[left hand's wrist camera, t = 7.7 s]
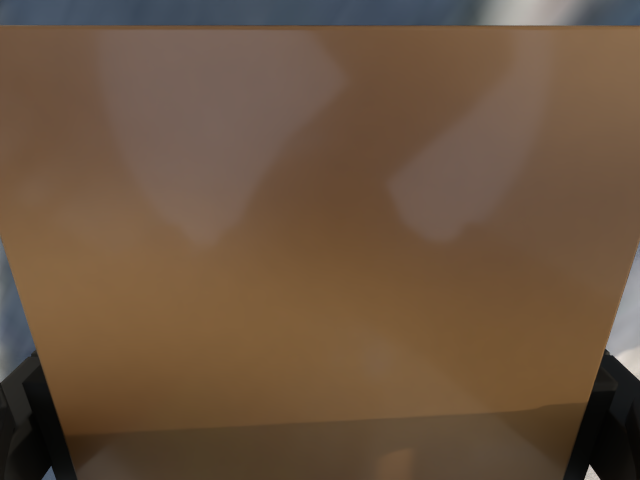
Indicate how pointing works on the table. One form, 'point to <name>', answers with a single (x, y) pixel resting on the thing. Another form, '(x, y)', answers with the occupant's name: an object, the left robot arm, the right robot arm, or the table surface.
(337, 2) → the table surface
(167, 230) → the brown wooden beam
